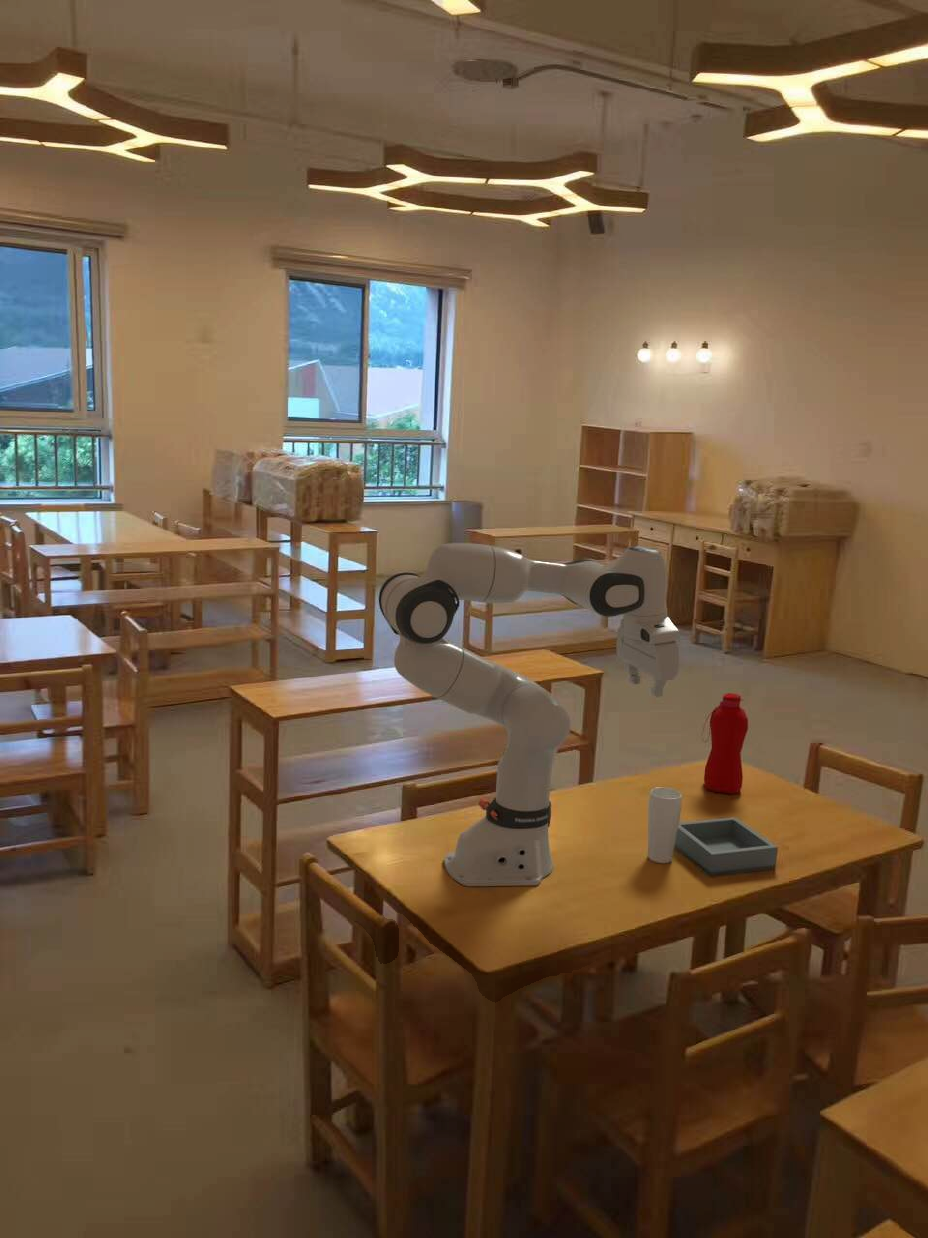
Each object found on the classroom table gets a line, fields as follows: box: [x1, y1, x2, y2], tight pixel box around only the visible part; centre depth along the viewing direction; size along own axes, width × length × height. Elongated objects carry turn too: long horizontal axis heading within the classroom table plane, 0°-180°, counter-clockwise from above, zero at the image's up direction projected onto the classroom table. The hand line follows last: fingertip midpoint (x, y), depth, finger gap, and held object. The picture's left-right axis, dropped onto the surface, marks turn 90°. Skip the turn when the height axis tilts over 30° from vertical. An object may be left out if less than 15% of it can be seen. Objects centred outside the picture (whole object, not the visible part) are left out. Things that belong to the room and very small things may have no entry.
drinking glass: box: [647, 786, 683, 864], centre depth 214 cm, size 7×7×15 cm
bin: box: [674, 816, 779, 878], centre depth 217 cm, size 16×16×5 cm
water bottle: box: [701, 692, 749, 795], centre depth 256 cm, size 9×11×25 cm
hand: (645, 689), depth 209 cm, fingers open, 8 cm apart
